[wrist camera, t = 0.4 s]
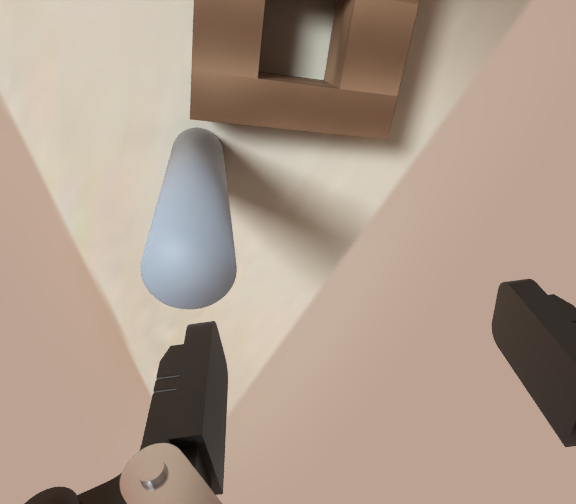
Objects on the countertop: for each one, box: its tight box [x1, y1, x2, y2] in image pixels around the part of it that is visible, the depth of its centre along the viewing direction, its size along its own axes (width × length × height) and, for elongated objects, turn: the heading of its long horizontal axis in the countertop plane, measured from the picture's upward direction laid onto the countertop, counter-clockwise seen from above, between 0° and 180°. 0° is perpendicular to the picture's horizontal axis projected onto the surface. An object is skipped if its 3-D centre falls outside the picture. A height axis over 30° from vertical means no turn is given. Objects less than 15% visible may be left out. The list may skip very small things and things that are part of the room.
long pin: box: [141, 128, 237, 309], centre depth 23 cm, size 3×3×16 cm
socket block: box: [190, 0, 420, 140], centre depth 26 cm, size 10×12×4 cm
